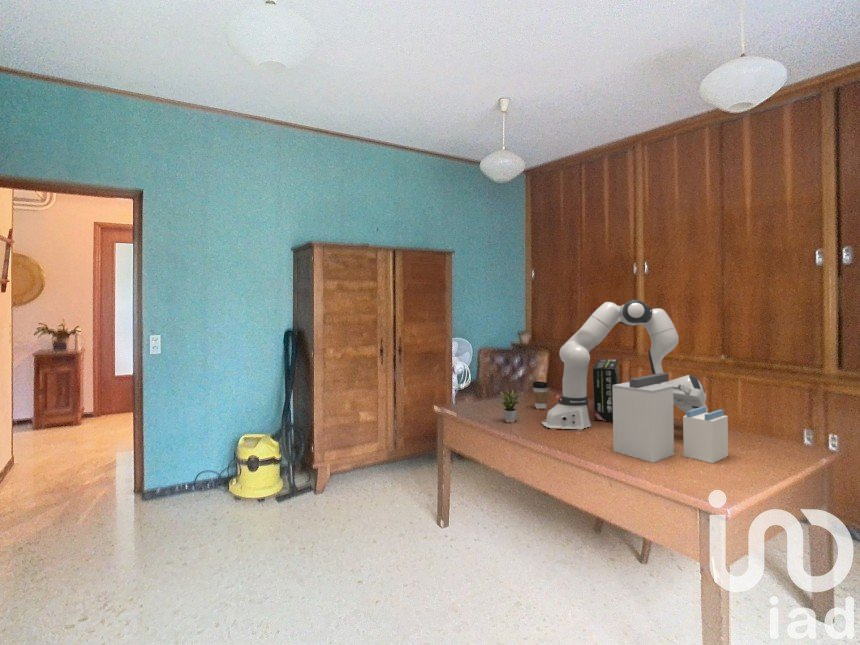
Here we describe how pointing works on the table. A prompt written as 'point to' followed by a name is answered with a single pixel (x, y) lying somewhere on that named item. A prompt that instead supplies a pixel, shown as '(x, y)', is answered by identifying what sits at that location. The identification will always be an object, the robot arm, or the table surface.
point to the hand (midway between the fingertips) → (668, 384)
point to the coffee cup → (540, 394)
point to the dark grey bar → (648, 380)
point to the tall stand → (643, 421)
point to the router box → (604, 388)
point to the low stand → (705, 435)
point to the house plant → (510, 406)
